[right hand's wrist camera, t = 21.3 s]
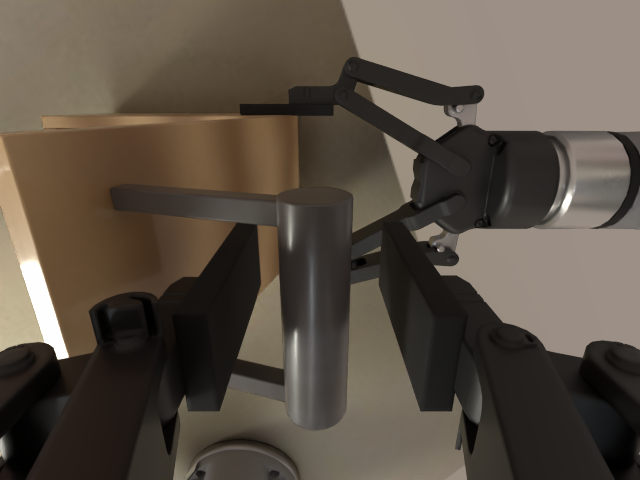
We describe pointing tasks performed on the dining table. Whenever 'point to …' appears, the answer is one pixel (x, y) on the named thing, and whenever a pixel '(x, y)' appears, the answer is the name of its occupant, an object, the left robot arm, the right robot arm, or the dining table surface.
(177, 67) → the dining table surface
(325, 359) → the lid
